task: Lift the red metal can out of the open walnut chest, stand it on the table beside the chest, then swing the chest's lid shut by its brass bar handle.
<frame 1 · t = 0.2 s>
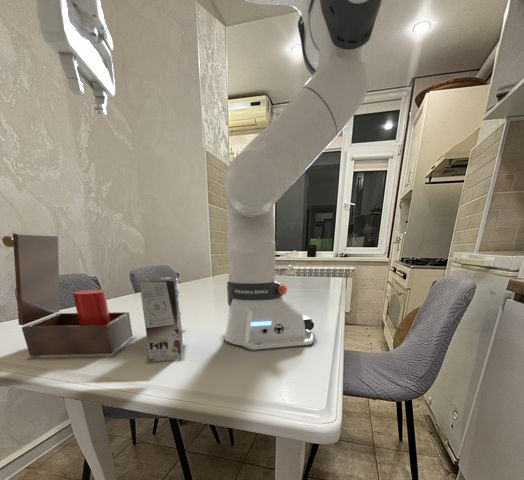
hand: (90, 105, 56), 48 cm above the table, tool pointing down, fingers open, 8 cm apart
coffee box: (168, 354, 64), on the table
can: (99, 344, 67), point 1 cm above the table, touching chest
chest lid: (27, 275, 61), point 16 cm above the table, hinge at 78.0°
syrup box: (169, 334, 77), on the table
chest: (86, 347, 67), on the table
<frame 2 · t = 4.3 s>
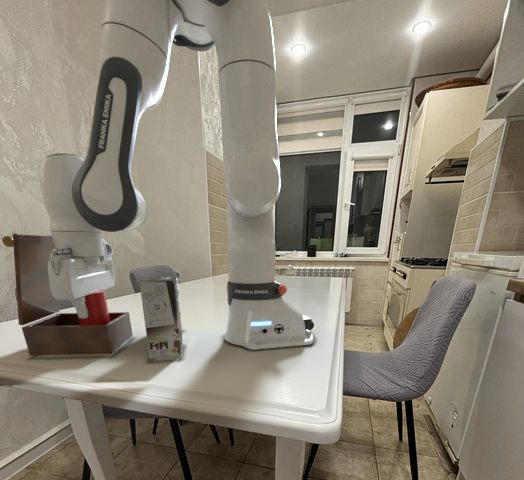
hand: (93, 313, 64), 8 cm above the table, tool pointing down, fingers closed on can, 6 cm apart
can: (99, 344, 67), point 1 cm above the table, touching chest, gripper
everything else where it was.
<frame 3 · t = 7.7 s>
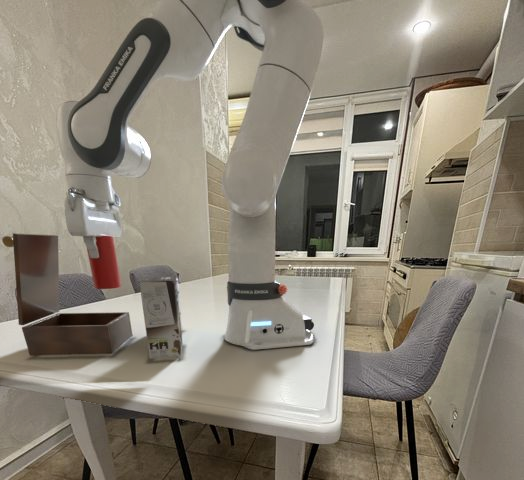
hand: (102, 257, 70), 19 cm above the table, tool pointing down, fingers closed on can, 6 cm apart
can: (108, 287, 73), point 12 cm above the table, touching gripper
everything else where it was.
when the fingers open (7 cm above the table, at t = 11.0 s): can stays where it is, on the table.
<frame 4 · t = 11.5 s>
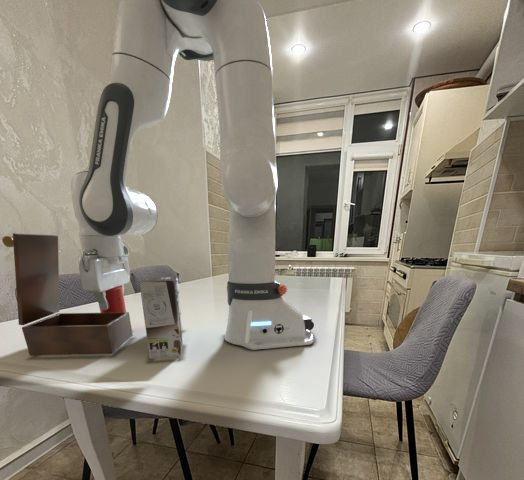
hand: (113, 305, 75), 7 cm above the table, tool pointing down, fingers open, 8 cm apart
can: (117, 333, 78), on the table
everything else where it was.
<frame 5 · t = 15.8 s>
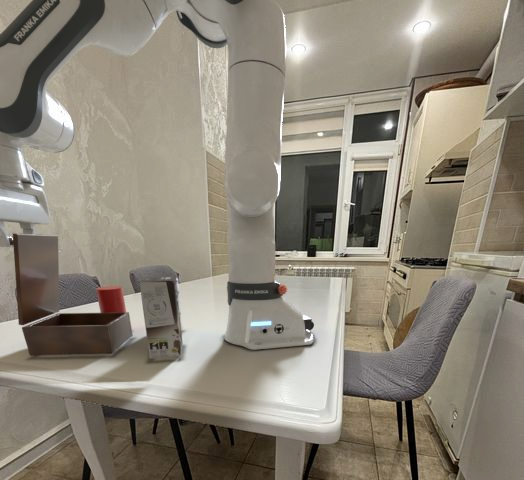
hand: (18, 246, 59), 22 cm above the table, tool pointing down, fingers closed on chest lid, 5 cm apart
chest lid: (27, 275, 61), point 16 cm above the table, hinge at 78.0°, touching gripper
everything else where it was.
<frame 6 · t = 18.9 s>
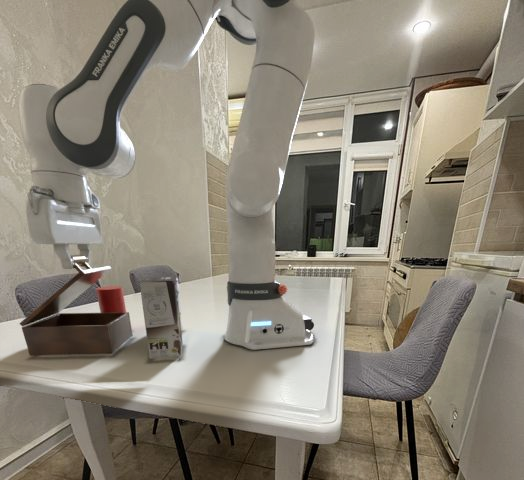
hand: (77, 267, 61), 18 cm above the table, tool pointing down, fingers closed on chest lid, 5 cm apart
chest lid: (60, 285, 62), point 14 cm above the table, hinge at 36.1°, touching gripper
everything else where it was.
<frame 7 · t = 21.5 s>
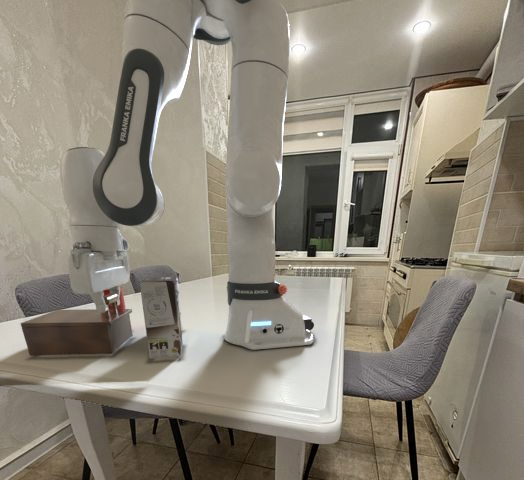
hand: (109, 308, 64), 9 cm above the table, tool pointing down, fingers closed on chest lid, 5 cm apart
chest lid: (79, 307, 64), point 9 cm above the table, hinge at -0.2°, touching chest, gripper
everything else where it was.
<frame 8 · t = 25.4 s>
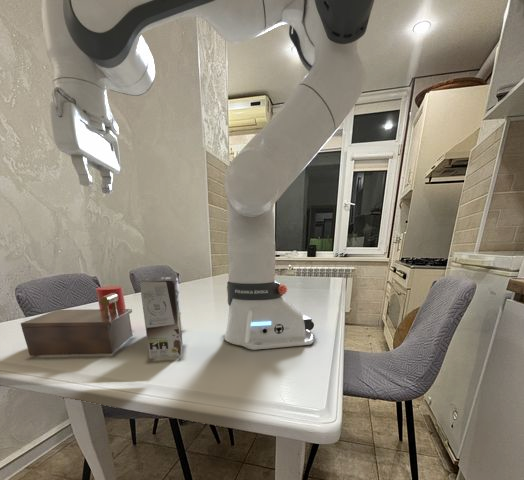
hand: (98, 190, 61), 33 cm above the table, tool pointing down, fingers open, 8 cm apart
chest lid: (79, 307, 64), point 9 cm above the table, hinge at -0.2°, touching chest
everything else where it was.
at the end: can inside the target area (0.1 cm from its centre), on the table; can tilted 0°; chest lid at +0° (first picture: +78°) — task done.
